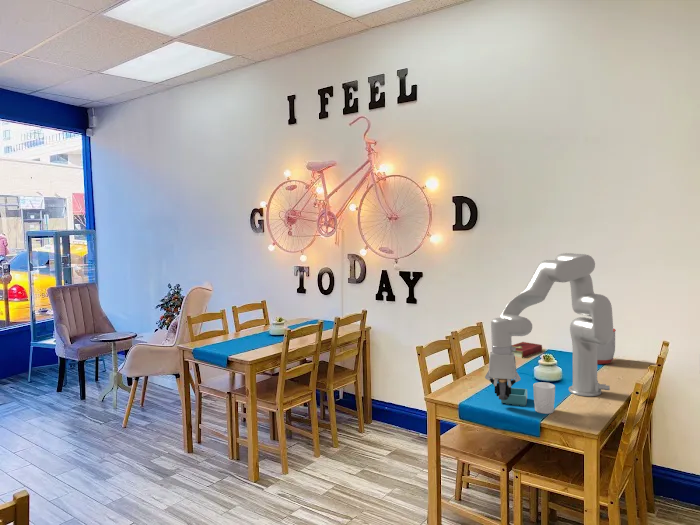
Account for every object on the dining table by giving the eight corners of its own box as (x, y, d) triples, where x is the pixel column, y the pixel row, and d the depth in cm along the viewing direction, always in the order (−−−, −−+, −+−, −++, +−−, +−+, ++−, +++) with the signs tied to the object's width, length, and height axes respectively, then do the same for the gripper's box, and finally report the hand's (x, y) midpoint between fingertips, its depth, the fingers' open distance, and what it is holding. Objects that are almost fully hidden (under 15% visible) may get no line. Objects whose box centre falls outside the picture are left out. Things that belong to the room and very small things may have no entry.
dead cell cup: (527, 398, 216) (527, 389, 215) (525, 406, 207) (525, 396, 207) (503, 396, 219) (503, 387, 219) (501, 403, 210) (501, 394, 210)
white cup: (550, 406, 205) (550, 381, 205) (558, 414, 197) (558, 387, 197) (530, 407, 205) (530, 382, 204) (538, 414, 197) (537, 388, 196)
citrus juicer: (572, 360, 273) (572, 322, 271) (599, 356, 278) (599, 319, 276) (594, 367, 258) (594, 327, 256) (623, 363, 263) (623, 324, 261)
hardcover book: (542, 351, 294) (542, 344, 294) (522, 358, 280) (522, 351, 280) (522, 348, 303) (522, 341, 303) (502, 355, 289) (502, 347, 289)
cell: (508, 397, 208) (507, 376, 207) (507, 400, 204) (506, 378, 204) (499, 396, 209) (498, 375, 208) (498, 399, 206) (497, 378, 205)
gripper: (524, 348, 205) (525, 394, 207) (481, 346, 212) (482, 391, 213) (523, 353, 199) (524, 400, 200) (478, 351, 205) (480, 397, 206)
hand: (503, 395), depth 206 cm, fingers closed on cell, 3 cm apart
